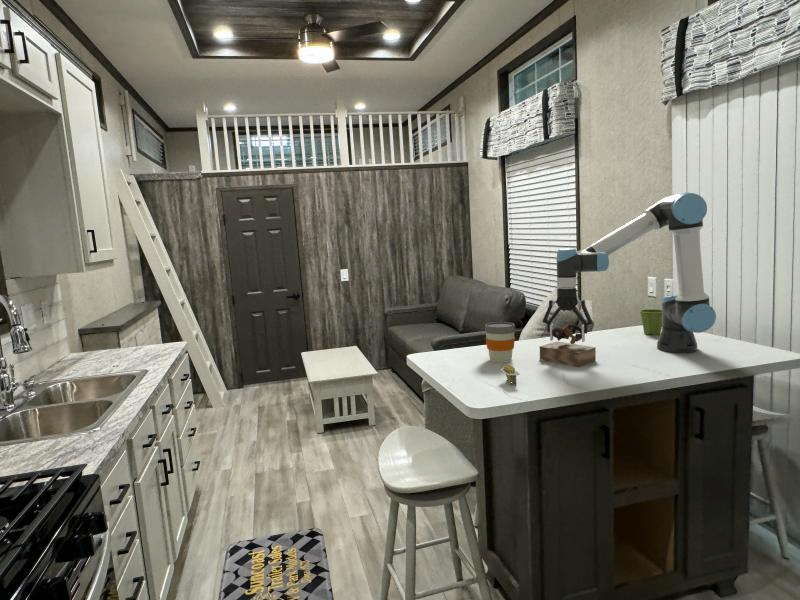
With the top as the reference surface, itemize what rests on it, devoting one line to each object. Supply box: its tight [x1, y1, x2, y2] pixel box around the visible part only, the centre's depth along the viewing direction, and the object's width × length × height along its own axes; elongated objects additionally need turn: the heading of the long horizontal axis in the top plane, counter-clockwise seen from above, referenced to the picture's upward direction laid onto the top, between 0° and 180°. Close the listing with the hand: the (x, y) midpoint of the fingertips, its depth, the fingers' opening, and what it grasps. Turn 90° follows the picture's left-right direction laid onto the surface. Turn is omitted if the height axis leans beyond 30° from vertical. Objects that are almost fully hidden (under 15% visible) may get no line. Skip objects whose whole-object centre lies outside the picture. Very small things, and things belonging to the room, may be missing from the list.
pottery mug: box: [552, 323, 582, 344], centre depth 211 cm, size 12×10×8 cm
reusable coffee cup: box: [484, 321, 516, 363], centre depth 217 cm, size 13×13×15 cm
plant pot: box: [638, 308, 662, 336], centre depth 251 cm, size 12×12×11 cm
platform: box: [500, 363, 520, 386], centre depth 185 cm, size 12×18×7 cm, turn 11°
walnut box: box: [539, 340, 597, 368], centre depth 211 cm, size 18×12×6 cm, turn 39°
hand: (567, 340), depth 210 cm, fingers closed on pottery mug, 12 cm apart
